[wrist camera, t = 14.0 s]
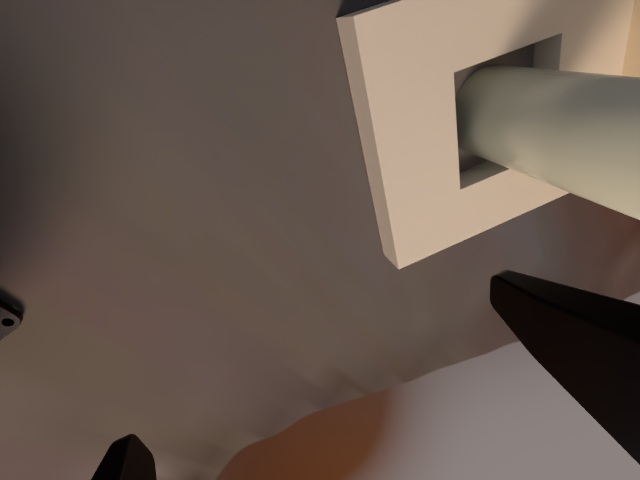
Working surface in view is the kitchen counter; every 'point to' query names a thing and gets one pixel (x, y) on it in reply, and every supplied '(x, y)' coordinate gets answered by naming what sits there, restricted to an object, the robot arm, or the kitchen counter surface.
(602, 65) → the light wood frame
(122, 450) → the robot arm
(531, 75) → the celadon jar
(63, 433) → the kitchen counter surface
